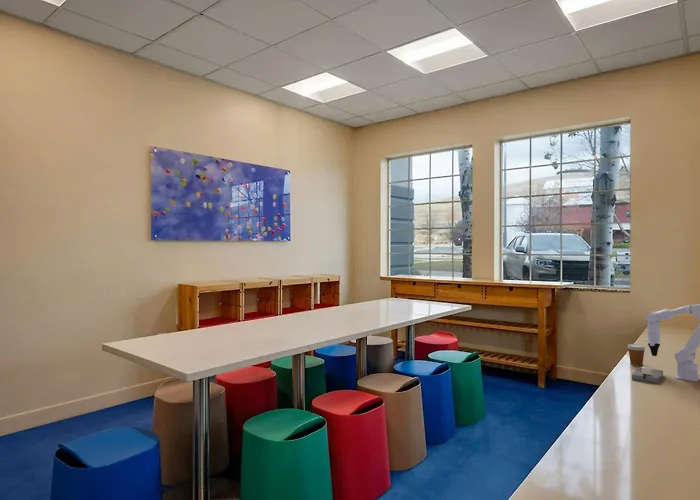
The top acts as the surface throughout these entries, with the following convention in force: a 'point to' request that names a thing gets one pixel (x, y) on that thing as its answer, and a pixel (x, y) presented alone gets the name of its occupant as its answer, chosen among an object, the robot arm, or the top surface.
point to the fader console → (651, 378)
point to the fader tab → (646, 370)
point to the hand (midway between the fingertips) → (654, 355)
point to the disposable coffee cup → (636, 354)
